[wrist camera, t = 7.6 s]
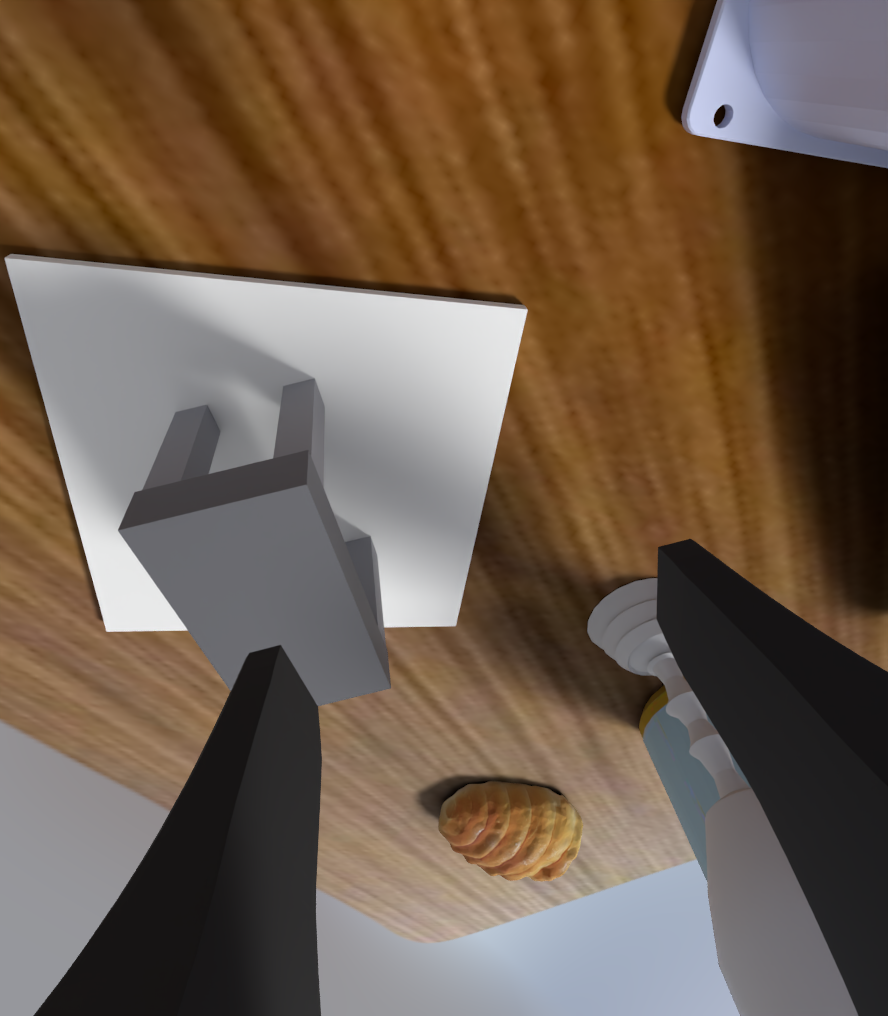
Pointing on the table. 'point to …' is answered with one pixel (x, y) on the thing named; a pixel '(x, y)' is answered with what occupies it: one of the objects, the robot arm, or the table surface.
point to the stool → (262, 553)
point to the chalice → (733, 842)
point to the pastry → (512, 829)
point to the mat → (273, 409)
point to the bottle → (680, 771)
